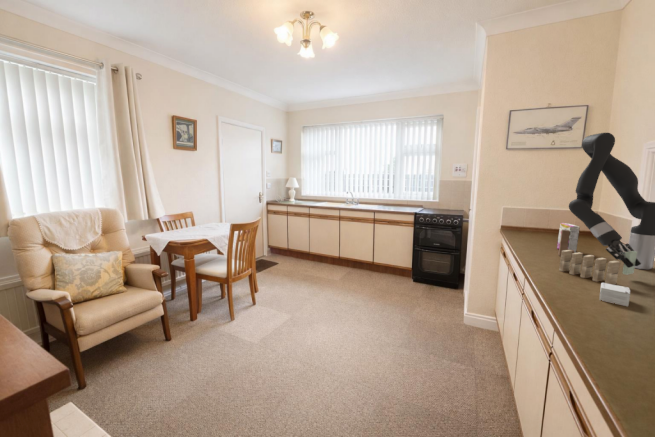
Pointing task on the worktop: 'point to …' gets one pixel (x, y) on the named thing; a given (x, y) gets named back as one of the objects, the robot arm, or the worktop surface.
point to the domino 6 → (632, 257)
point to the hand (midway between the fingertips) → (634, 265)
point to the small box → (615, 294)
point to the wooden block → (564, 241)
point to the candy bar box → (570, 235)
